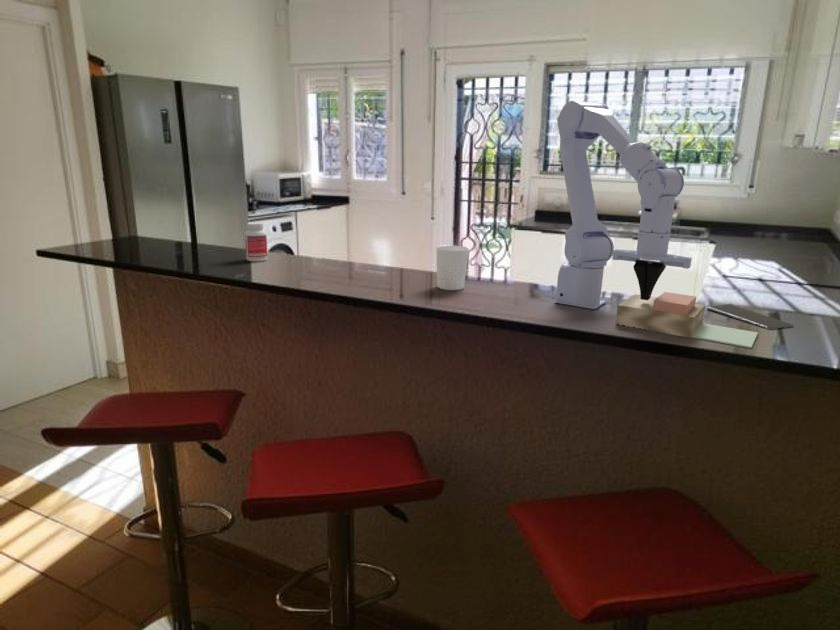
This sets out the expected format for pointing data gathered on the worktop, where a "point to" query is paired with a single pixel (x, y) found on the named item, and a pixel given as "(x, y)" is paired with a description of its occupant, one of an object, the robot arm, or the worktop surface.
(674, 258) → the robot arm
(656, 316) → the wooden block
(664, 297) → the pink rubber eraser
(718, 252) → the worktop surface
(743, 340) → the mat
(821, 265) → the worktop surface
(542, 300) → the worktop surface
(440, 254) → the white cup
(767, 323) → the smartphone
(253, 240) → the pill bottle
